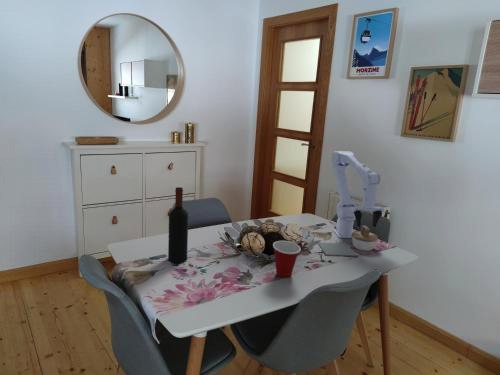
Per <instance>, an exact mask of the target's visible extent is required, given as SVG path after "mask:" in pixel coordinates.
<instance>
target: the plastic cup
mask: <svg viewBox="0 0 500 375" xmlns="http://www.w3.org/2000/svg"><path fill="white" fill-rule="evenodd" d="M272 248H273V251H274V253H273V254H274V260H275V261H274V262H275V264H274V265H275V272H276V276H278V277H280V278H285V279H286V278H290V277H292V274H293V270H294V268H295V265H296V262H297V261H296V260H297V257H298V255H299V253H300V252H301V250H302V249H301V246H300V245H298V244H296V243H295V242H292V241H288V240H278V241H275V242H273V243H272Z"/></svg>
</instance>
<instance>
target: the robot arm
mask: <svg viewBox="0 0 500 375" xmlns="http://www.w3.org/2000/svg"><path fill="white" fill-rule="evenodd" d="M330 159H331V164H332V169H333V171H334V176H335V177H334V178H335V180H336V186H337V190H338V191H337V192H338V195H339V196H338V197H339V202H338V203H337V204H336V215H337V217H338V218H337V220H336V227H335V230H333V232H334V233H335V235H337V236H338V238H340V239H341V238H342V239H353V238H352V235H351V234H352V232H353V230H354V229H353V228H354V222H355V221H356V226H357V227H358V228H361V224H362V223H361V220H362V216H363V213H362V212H368V213H370V212H371V213H372V227H373V228H376V227H377V224H378V223H379V220H380V218H381V217H382V216H383V213H384V212H385V211H384V210H385V208H384V207H382V206H375V205H376V197H377V196H376V195H377V185H379V184H380V181H381V177H380V176H381V175H380V174H379V172H376V171H372V170H371V169H370V168H369V167H368V166H367V164H366V163H360V162H359V161H358V159H356V157H355V154H354V152H352V151H350V150H348V151H346V150H345V151H342V150H340V151H339V150H338V151H337V150H334V151H333V152H332V154H331V158H330ZM350 166H351V167H352V168H353V169H354V172H355V175H357V176H358V177H359V178H360V179H361V183H362V185H361V187H362V203H361V205H360V206H358V205H357V204H356V202H355V201H353V200H352V199H351V193H350V190H349V188H350V187H349V184H348V178H347V175H346V170H347V169H348V168H350Z"/></svg>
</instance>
